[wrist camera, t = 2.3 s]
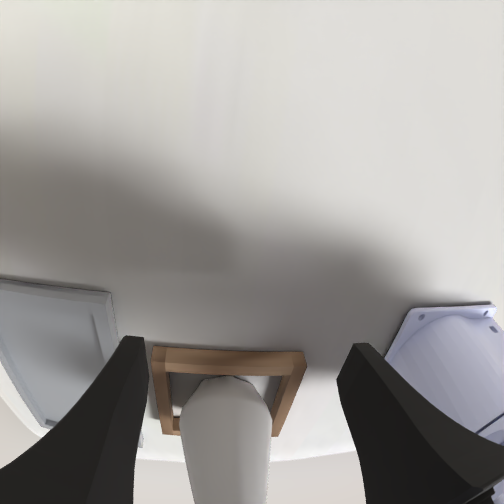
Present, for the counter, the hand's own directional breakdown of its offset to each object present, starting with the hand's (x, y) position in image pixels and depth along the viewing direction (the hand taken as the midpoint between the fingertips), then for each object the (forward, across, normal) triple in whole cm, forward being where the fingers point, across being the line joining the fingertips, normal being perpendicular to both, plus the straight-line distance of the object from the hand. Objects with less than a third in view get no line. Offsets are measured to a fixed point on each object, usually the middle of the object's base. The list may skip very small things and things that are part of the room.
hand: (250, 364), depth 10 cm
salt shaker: (+6, 0, +10) cm, 11 cm away
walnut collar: (+6, 0, +10) cm, 11 cm away
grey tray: (+6, +12, +10) cm, 16 cm away
